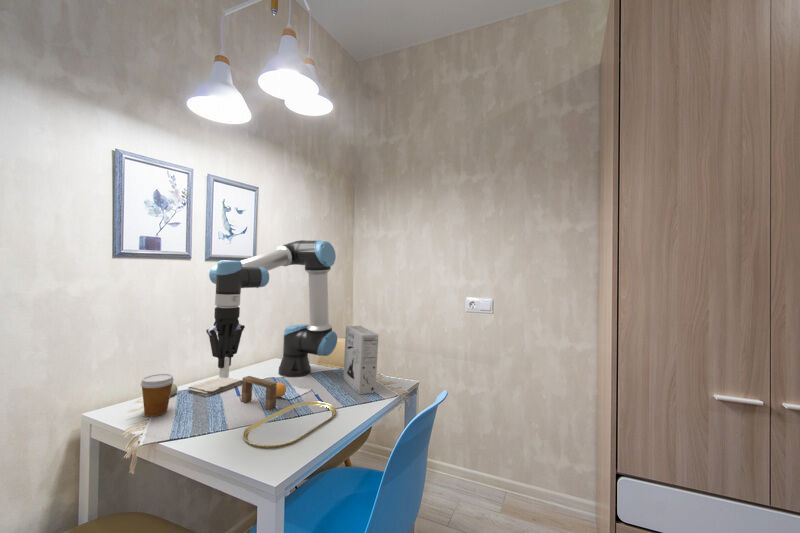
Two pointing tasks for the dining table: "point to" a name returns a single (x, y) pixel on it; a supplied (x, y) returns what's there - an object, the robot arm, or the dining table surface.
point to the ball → (280, 389)
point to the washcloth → (214, 386)
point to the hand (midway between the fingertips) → (223, 376)
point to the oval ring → (257, 424)
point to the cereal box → (360, 359)
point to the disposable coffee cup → (156, 393)
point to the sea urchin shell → (173, 389)
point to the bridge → (269, 385)
